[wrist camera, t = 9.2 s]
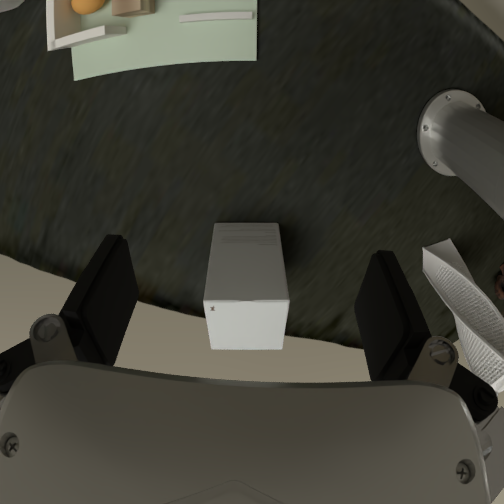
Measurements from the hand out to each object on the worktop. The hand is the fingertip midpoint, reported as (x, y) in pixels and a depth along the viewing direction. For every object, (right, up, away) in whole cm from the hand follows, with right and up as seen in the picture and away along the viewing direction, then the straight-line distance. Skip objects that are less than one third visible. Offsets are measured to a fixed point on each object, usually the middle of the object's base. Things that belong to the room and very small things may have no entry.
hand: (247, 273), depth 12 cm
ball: (-18, +28, +10) cm, 35 cm away
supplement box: (-1, +1, +35) cm, 35 cm away
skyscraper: (+31, +1, +35) cm, 47 cm away
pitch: (-10, +30, +13) cm, 34 cm away
